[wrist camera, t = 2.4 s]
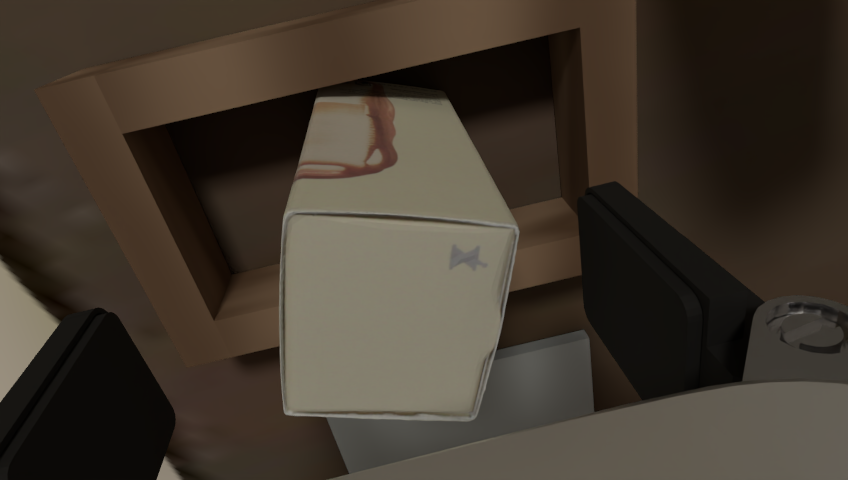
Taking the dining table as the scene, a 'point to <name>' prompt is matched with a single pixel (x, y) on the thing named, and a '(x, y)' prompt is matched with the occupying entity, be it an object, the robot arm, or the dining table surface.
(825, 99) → the dining table surface
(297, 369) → the skincare box
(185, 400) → the dining table surface
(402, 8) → the pocket block
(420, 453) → the mat
